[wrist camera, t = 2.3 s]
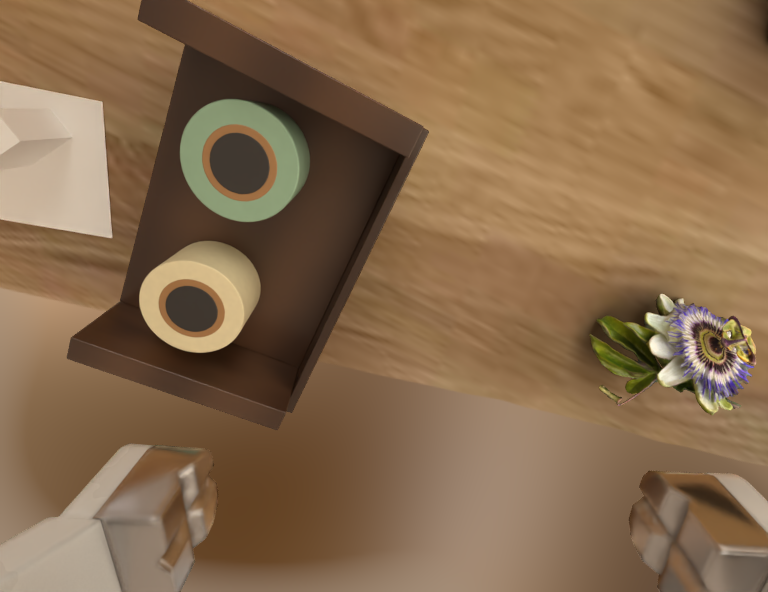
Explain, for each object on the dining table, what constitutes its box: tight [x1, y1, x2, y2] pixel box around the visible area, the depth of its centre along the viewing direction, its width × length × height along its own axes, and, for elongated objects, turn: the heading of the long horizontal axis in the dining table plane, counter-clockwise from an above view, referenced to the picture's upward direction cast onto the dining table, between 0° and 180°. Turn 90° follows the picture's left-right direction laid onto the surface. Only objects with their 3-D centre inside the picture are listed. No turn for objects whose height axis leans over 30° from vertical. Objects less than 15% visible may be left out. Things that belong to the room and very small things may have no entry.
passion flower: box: [589, 294, 756, 415], centre depth 39 cm, size 11×11×12 cm
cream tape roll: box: [139, 241, 261, 353], centre depth 26 cm, size 6×6×4 cm
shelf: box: [67, 0, 429, 430], centre depth 29 cm, size 14×20×15 cm
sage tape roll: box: [180, 99, 310, 222], centre depth 23 cm, size 6×6×4 cm
